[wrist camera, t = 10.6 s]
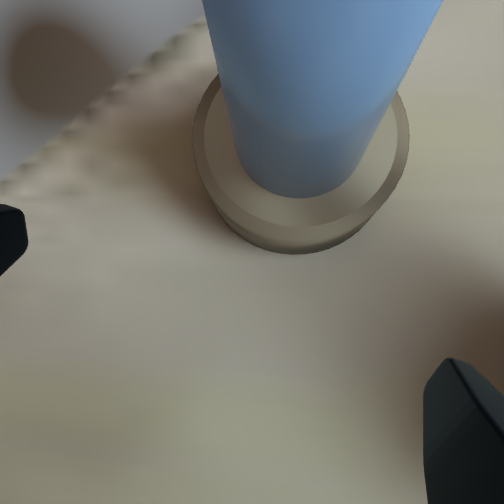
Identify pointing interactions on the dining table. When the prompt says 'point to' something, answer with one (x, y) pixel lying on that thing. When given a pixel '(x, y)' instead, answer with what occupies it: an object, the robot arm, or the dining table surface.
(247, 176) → the grey-beige round disc
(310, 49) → the vase
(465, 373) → the robot arm
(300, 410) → the dining table surface
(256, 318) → the dining table surface
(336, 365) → the dining table surface
